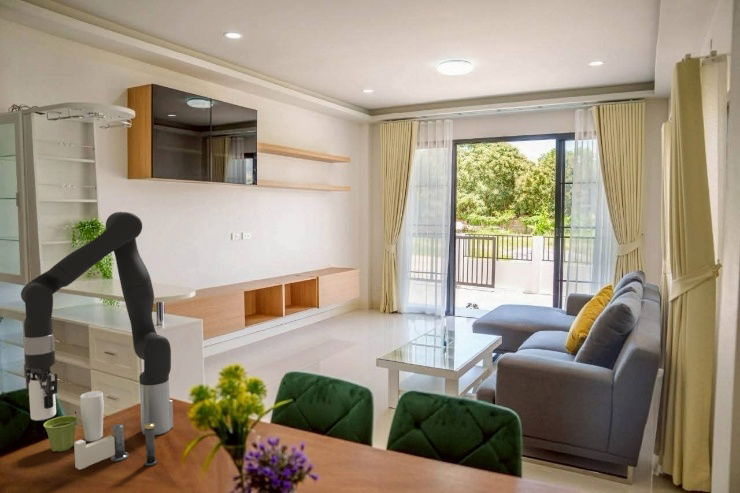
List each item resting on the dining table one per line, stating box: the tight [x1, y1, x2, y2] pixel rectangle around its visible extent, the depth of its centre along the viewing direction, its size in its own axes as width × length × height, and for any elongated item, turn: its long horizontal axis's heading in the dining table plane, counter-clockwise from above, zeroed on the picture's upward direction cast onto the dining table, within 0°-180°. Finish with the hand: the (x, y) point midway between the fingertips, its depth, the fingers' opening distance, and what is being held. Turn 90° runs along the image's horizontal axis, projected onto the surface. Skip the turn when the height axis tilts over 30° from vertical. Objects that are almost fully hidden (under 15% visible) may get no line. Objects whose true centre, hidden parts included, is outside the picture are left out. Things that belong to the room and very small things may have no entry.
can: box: [28, 378, 57, 422], centre depth 154 cm, size 6×6×12 cm
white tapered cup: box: [79, 390, 105, 442], centre depth 172 cm, size 7×7×15 cm
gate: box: [73, 435, 115, 471], centre depth 152 cm, size 10×2×8 cm, turn 146°
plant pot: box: [43, 415, 79, 452], centre depth 165 cm, size 9×9×9 cm
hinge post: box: [110, 423, 130, 463], centre depth 158 cm, size 5×5×10 cm
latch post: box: [144, 423, 159, 467], centre depth 154 cm, size 4×4×12 cm
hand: (42, 405), depth 154 cm, fingers closed on can, 6 cm apart
